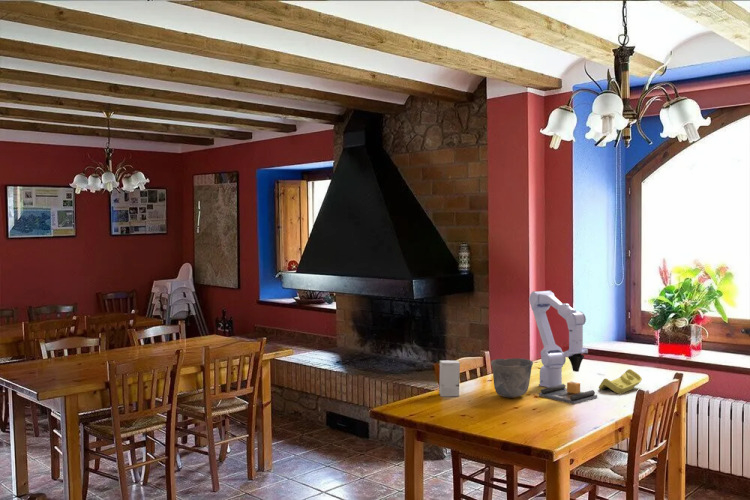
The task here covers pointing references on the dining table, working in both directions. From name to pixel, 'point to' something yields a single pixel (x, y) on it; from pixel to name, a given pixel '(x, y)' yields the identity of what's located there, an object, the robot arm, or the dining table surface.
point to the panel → (565, 396)
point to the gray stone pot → (511, 376)
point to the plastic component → (622, 382)
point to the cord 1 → (552, 388)
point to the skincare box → (449, 378)
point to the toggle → (573, 387)
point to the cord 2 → (582, 395)
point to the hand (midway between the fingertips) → (575, 371)
